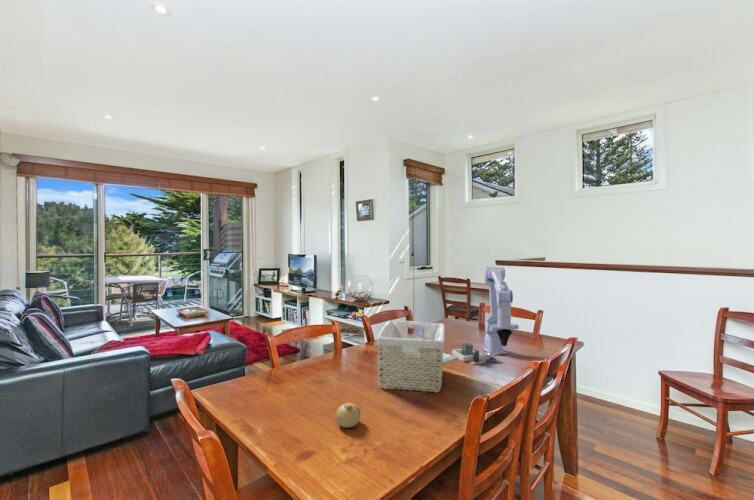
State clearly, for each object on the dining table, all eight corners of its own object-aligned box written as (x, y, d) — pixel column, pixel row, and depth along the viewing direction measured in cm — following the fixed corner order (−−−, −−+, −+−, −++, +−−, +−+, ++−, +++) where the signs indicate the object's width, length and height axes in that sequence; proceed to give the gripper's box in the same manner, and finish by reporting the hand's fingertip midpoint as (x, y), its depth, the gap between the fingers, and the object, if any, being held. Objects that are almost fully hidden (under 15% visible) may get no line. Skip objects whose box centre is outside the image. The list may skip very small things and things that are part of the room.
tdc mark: (468, 361, 168) (468, 361, 168) (475, 361, 169) (475, 360, 169) (473, 364, 164) (473, 364, 164) (480, 363, 165) (480, 363, 165)
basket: (444, 396, 132) (445, 339, 131) (374, 390, 137) (374, 335, 136) (445, 369, 158) (445, 321, 157) (386, 365, 164) (386, 319, 163)
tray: (452, 354, 178) (452, 349, 178) (470, 352, 181) (470, 347, 181) (463, 361, 168) (463, 356, 168) (482, 359, 171) (482, 354, 171)
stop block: (461, 355, 176) (461, 343, 175) (468, 354, 177) (468, 342, 177) (465, 357, 172) (465, 345, 172) (472, 357, 173) (473, 345, 173)
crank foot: (483, 359, 171) (483, 357, 171) (491, 358, 172) (492, 356, 172) (489, 363, 166) (489, 361, 166) (498, 362, 168) (498, 359, 167)
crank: (490, 356, 171) (491, 347, 171) (495, 358, 168) (495, 349, 168) (471, 360, 166) (471, 350, 166) (475, 362, 163) (475, 352, 163)
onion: (330, 424, 112) (330, 402, 112) (349, 415, 118) (349, 394, 118) (346, 434, 107) (346, 411, 106) (365, 424, 112) (365, 402, 112)
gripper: (496, 319, 156) (495, 349, 157) (523, 317, 161) (522, 346, 161) (486, 315, 163) (486, 344, 163) (512, 313, 167) (512, 342, 168)
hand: (503, 345), depth 163 cm, fingers closed
